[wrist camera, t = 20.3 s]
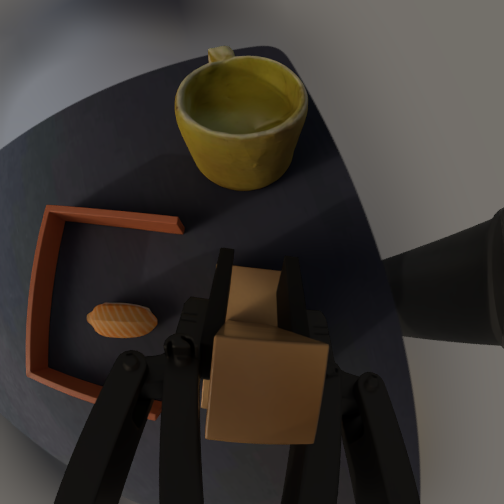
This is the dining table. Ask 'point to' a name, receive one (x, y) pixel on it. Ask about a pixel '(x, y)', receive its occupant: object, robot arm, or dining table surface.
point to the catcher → (45, 279)
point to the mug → (241, 118)
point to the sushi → (122, 320)
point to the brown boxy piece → (262, 370)
